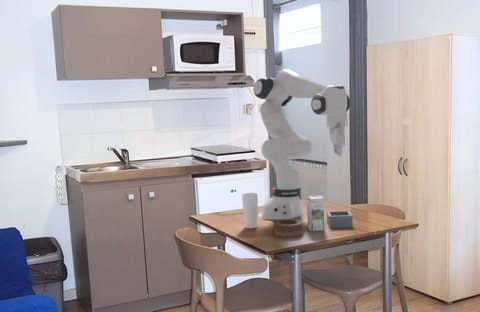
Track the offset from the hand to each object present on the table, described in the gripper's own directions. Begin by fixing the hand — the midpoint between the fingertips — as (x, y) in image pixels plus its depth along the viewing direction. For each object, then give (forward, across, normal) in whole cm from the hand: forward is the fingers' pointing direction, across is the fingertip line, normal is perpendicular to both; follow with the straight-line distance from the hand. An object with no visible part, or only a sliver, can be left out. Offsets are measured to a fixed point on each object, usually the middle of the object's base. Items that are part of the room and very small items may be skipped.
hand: (337, 154), depth 220 cm
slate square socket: (+31, 0, 0) cm, 31 cm away
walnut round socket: (+31, -13, +23) cm, 41 cm away
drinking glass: (+31, 0, +39) cm, 50 cm away
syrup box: (+31, -8, +11) cm, 34 cm away
